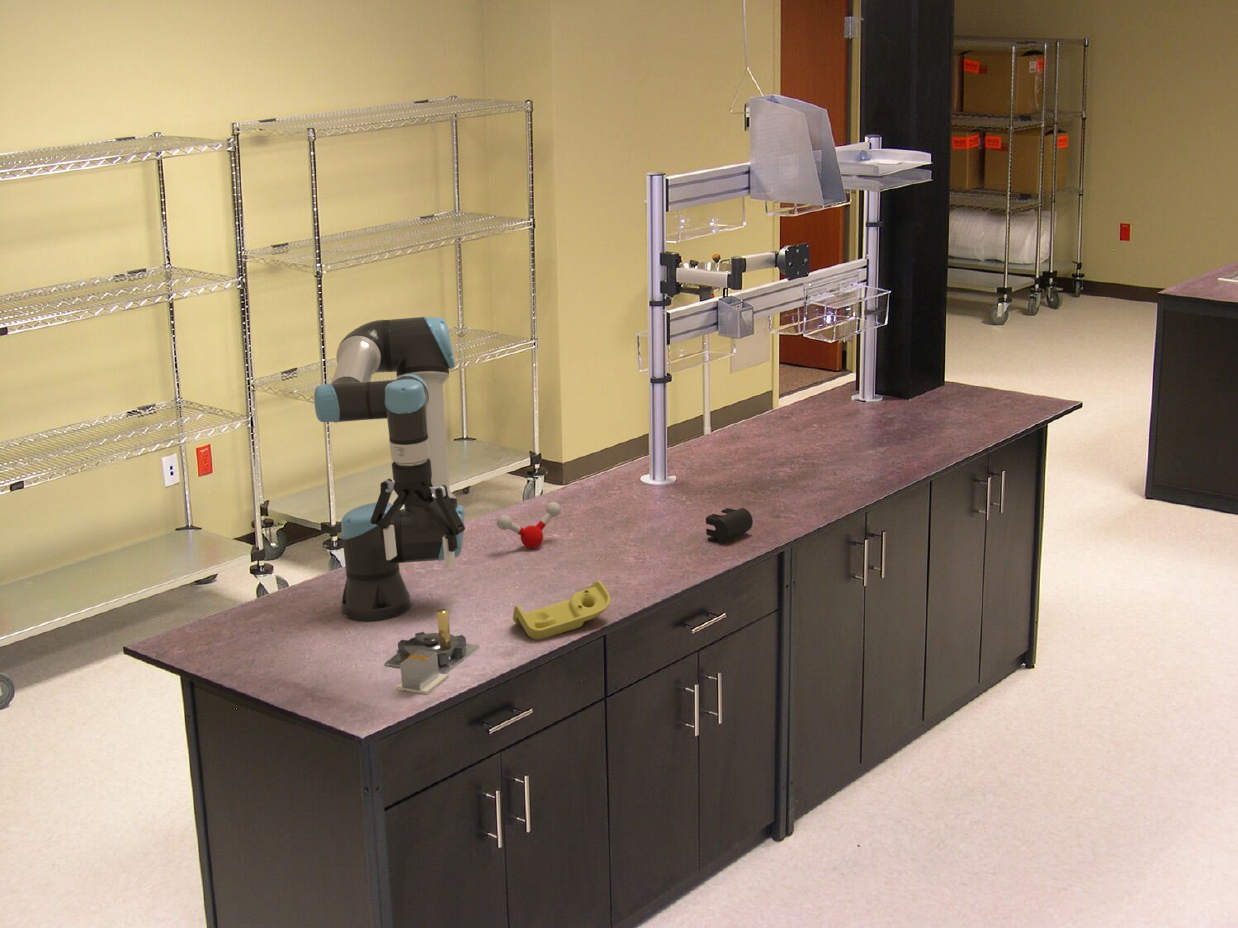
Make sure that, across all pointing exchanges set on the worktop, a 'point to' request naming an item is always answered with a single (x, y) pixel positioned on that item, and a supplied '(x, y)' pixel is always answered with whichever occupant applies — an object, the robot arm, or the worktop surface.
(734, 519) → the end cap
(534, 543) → the molecular model
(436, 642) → the sprocket
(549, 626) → the plastic component
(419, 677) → the link block
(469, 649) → the sprocket base
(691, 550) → the worktop surface
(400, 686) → the marked pad
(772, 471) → the worktop surface
